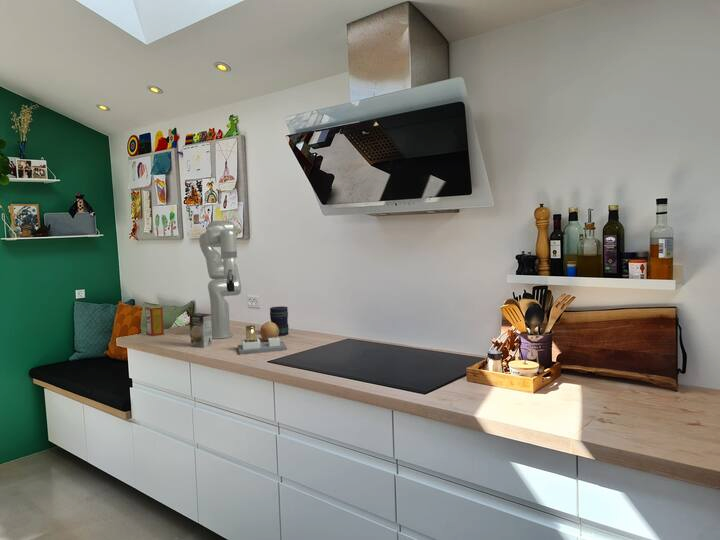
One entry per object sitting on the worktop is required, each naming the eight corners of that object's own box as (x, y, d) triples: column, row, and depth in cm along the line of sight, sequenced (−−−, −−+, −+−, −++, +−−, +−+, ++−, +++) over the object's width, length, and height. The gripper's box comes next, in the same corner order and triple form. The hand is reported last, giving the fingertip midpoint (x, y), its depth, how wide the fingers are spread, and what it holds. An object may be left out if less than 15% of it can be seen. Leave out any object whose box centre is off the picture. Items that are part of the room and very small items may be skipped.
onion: (275, 342, 257) (274, 323, 257) (257, 342, 259) (256, 323, 259) (282, 338, 267) (281, 320, 266) (264, 338, 269) (263, 320, 268)
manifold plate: (237, 348, 248) (237, 339, 247) (282, 344, 254) (282, 335, 254) (239, 354, 234) (238, 344, 234) (286, 350, 241) (286, 340, 240)
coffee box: (190, 346, 254) (188, 315, 253) (199, 343, 260) (197, 313, 259) (204, 347, 250) (202, 315, 249) (213, 345, 256) (211, 313, 255)
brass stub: (246, 346, 244) (245, 325, 244) (255, 345, 245) (254, 325, 245) (246, 348, 240) (246, 327, 239) (256, 347, 241) (255, 326, 241)
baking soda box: (163, 334, 288) (162, 306, 287) (152, 336, 284) (150, 308, 283) (158, 332, 296) (156, 305, 294) (146, 333, 291) (145, 306, 290)
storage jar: (292, 333, 280) (291, 307, 279) (280, 337, 272) (279, 309, 270) (278, 332, 285) (277, 306, 284) (266, 335, 277) (265, 308, 276)
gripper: (220, 255, 254) (222, 289, 255) (221, 256, 237) (223, 292, 239) (235, 254, 256) (237, 288, 257) (237, 255, 239) (239, 291, 241)
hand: (230, 290), depth 248 cm, fingers open, 9 cm apart
